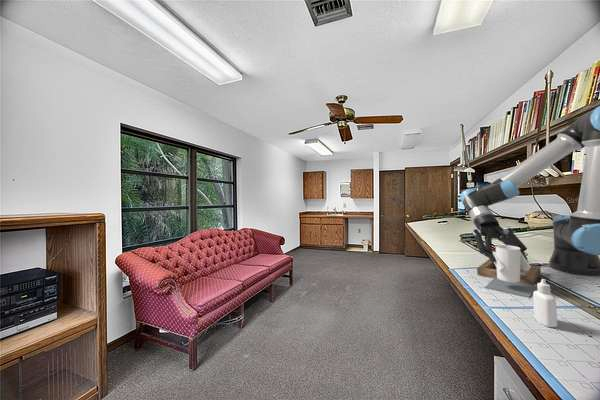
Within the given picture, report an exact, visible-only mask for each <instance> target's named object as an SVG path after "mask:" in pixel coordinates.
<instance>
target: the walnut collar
mask: <svg viewBox="0 0 600 400" xmlns="http://www.w3.org/2000/svg"><path fill="white" fill-rule="evenodd" d="M529 265H530V266H531V268H530V269H529V270H528V271H524V269H523V268H522V266H521V264H520V282H517V283H522V284H528V285H533V286H535V285H534V284H535V283H536V282H537V280H538V278H539V277H540V276H541V274H542V273H541V271H542V269H541V268H542V267H541V266H539V265H533V264H529ZM494 268H496V269H494ZM476 271H477V276H482V277H487V278H490V279H491V278H492V279H494V278H497V267H496V266H495V264H494V262H491V261H490V259H487V260H486V261H485V262H484V263H482V264H481V265H479V266H478V267H476ZM521 273H522V274H521ZM523 273H525V274H523ZM497 279H498V278H497Z"/></svg>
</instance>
